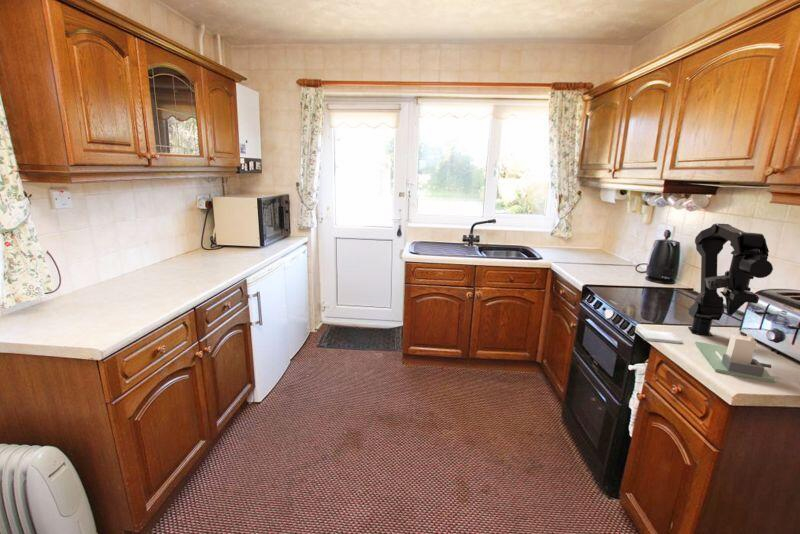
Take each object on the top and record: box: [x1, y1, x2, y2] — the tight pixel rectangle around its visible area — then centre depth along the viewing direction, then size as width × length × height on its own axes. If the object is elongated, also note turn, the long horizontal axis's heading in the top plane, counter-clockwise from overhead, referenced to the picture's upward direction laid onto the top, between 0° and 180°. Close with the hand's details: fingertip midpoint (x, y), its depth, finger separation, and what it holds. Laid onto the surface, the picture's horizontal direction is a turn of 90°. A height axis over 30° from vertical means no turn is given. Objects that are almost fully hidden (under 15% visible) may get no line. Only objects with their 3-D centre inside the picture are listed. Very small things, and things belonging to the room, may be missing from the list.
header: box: [721, 354, 765, 377], centre depth 116 cm, size 6×8×3 cm
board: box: [694, 341, 776, 383], centre depth 124 cm, size 22×14×2 cm, turn 156°
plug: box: [726, 333, 772, 369], centre depth 118 cm, size 4×10×10 cm, turn 66°
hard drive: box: [635, 328, 683, 344], centre depth 141 cm, size 2×8×12 cm
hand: (729, 314), depth 130 cm, fingers closed
